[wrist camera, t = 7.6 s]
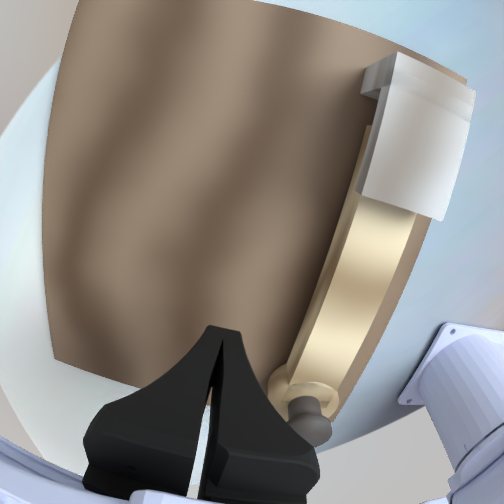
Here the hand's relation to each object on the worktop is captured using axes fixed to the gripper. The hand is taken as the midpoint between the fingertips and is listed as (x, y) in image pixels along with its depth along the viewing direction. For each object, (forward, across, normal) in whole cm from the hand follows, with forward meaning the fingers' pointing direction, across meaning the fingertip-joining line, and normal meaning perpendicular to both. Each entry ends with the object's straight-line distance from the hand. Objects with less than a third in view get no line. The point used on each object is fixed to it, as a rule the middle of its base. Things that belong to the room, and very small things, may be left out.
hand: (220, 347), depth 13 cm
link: (+5, -6, -1) cm, 8 cm away
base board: (+6, +1, -2) cm, 7 cm away
